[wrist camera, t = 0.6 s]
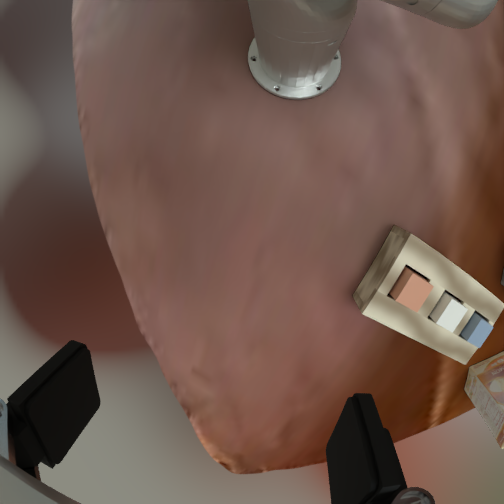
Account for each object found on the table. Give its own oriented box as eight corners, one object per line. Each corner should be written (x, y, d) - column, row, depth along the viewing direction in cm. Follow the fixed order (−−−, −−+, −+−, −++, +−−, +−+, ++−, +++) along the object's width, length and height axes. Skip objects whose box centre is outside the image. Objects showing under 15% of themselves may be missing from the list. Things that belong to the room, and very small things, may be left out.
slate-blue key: (469, 307, 37) (481, 318, 33) (481, 316, 37) (493, 327, 33) (455, 328, 38) (466, 341, 34) (468, 336, 38) (479, 348, 34)
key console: (394, 224, 39) (411, 233, 33) (486, 291, 40) (505, 304, 34) (352, 295, 42) (362, 313, 36) (451, 347, 43) (465, 364, 37)
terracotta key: (401, 263, 36) (412, 273, 32) (421, 276, 36) (433, 286, 32) (385, 288, 37) (395, 300, 33) (406, 300, 37) (417, 312, 33)
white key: (439, 287, 36) (452, 298, 32) (455, 298, 36) (468, 309, 33) (424, 310, 37) (436, 323, 33) (440, 320, 37) (452, 332, 34)
